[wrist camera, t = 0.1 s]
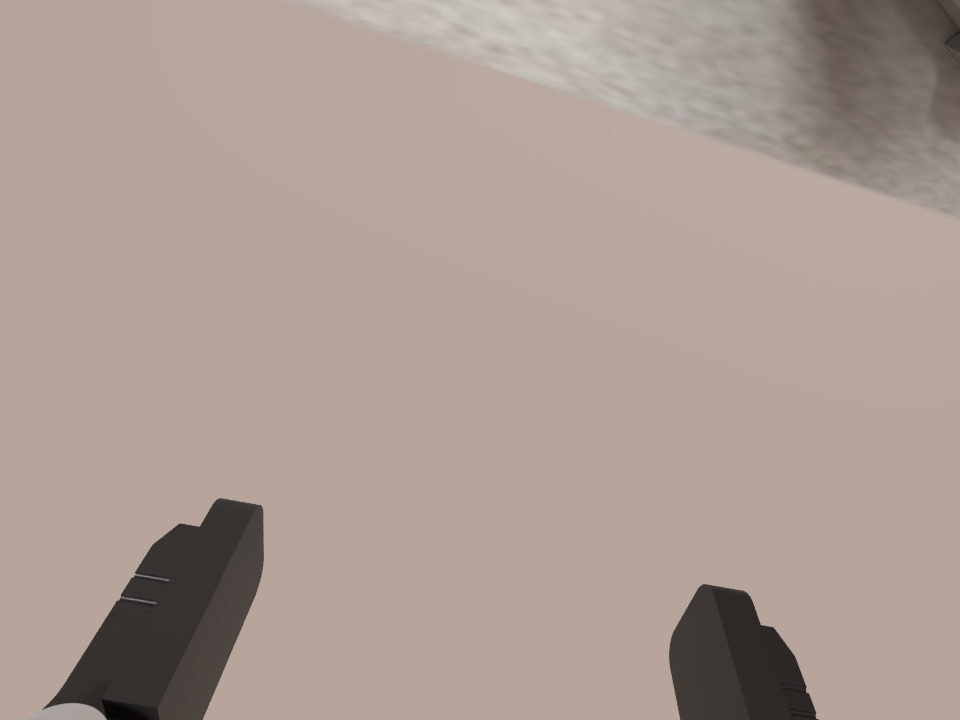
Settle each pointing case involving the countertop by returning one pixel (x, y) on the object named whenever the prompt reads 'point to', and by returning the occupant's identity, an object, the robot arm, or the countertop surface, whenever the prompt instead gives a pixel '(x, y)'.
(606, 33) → the countertop surface
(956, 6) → the rail
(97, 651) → the robot arm
